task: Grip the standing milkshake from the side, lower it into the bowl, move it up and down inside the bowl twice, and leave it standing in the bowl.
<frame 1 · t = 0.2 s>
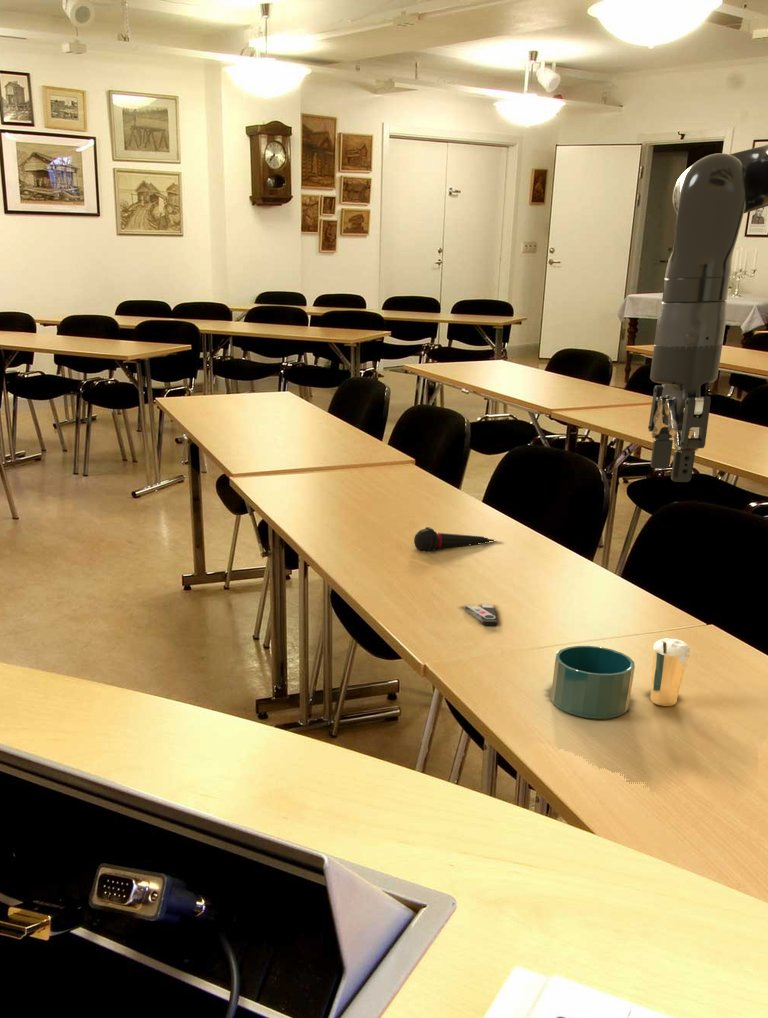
hand: (669, 474, 116), 32 cm above the table, tool pointing down, fingers open, 8 cm apart
microphone: (457, 551, 197), on the table
bowl: (588, 702, 128), on the table
milkshake: (661, 703, 127), on the table
usb flash drive: (479, 618, 159), on the table
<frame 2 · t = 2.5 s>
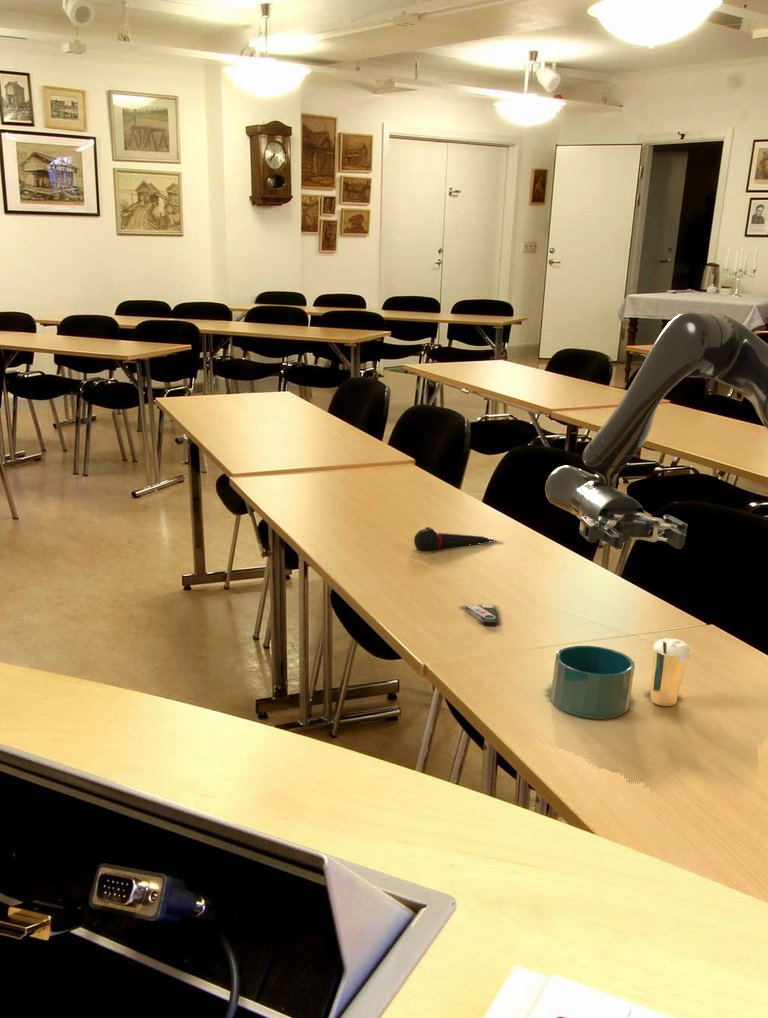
hand: (651, 542, 130), 20 cm above the table, tool horizontal, fingers open, 8 cm apart
nothing on the table moved.
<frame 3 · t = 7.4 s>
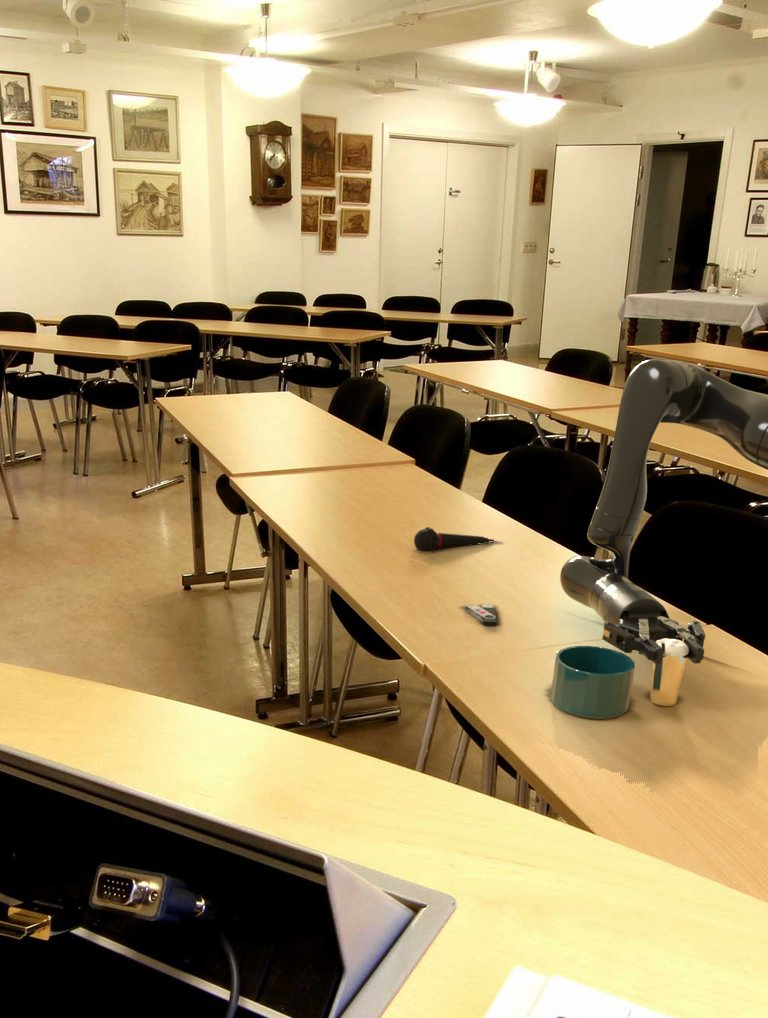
hand: (679, 657, 122), 8 cm above the table, tool horizontal, fingers closed on milkshake, 4 cm apart
milkshake: (661, 703, 127), on the table, touching gripper
everything else where it was.
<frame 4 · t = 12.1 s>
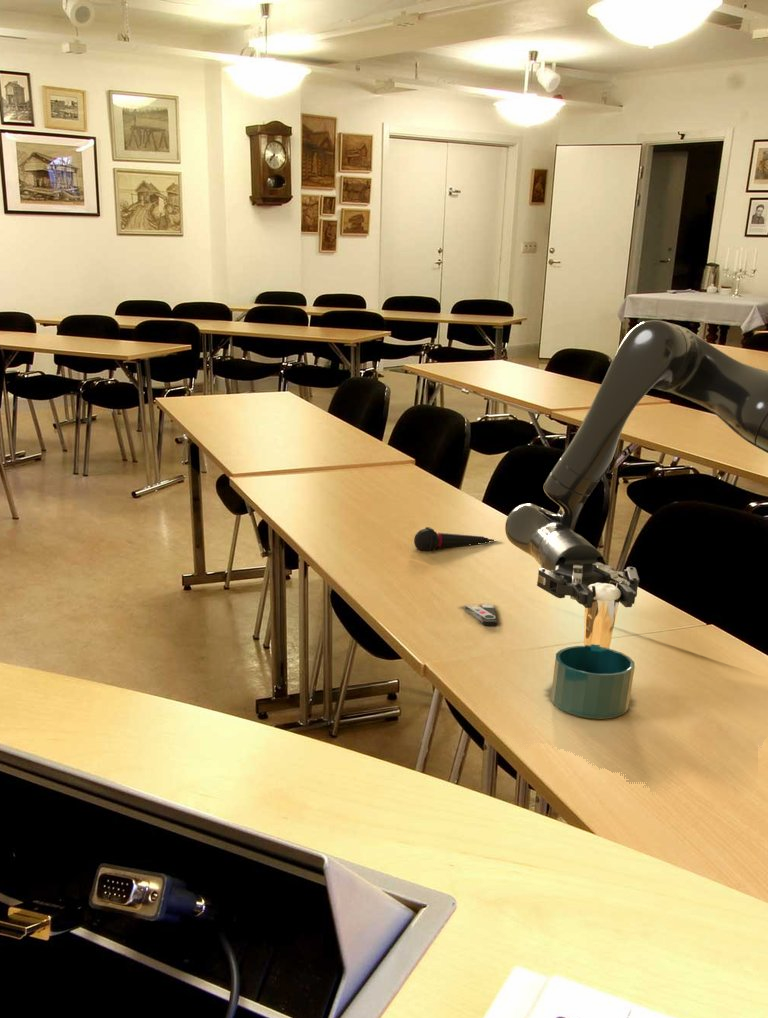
hand: (610, 600, 119), 16 cm above the table, tool horizontal, fingers closed on milkshake, 4 cm apart
milkshake: (594, 649, 125), point 8 cm above the table, touching gripper
everything else where it was.
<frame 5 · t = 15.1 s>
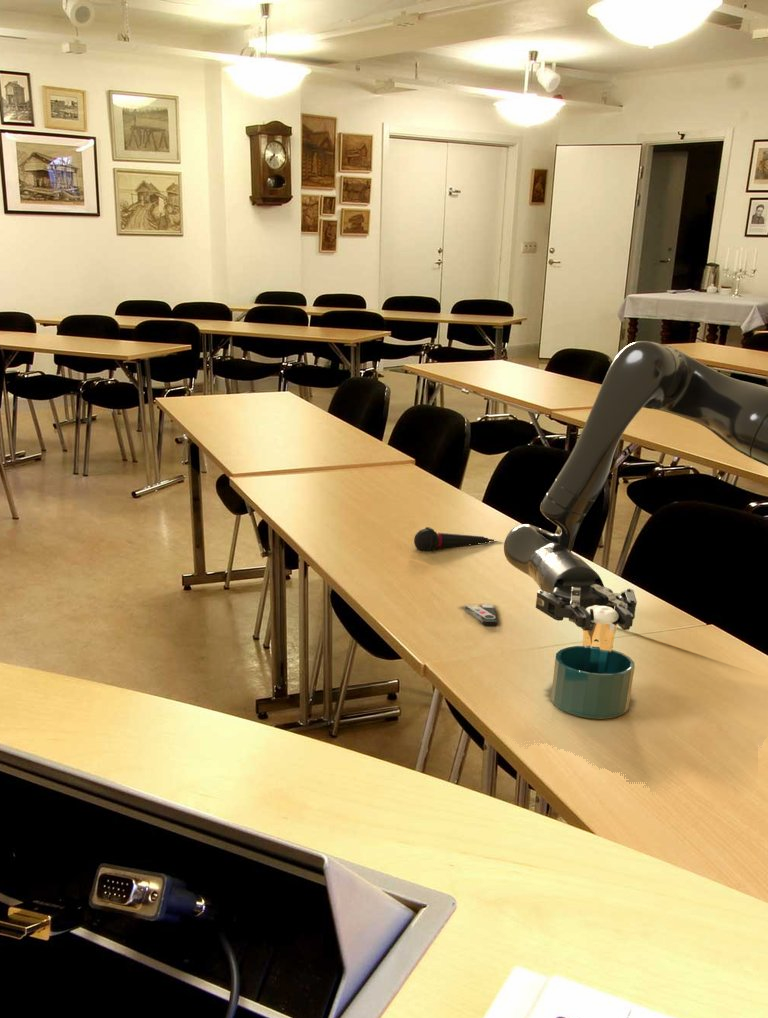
hand: (608, 623, 120), 13 cm above the table, tool horizontal, fingers closed on milkshake, 4 cm apart
milkshake: (593, 671, 126), point 5 cm above the table, touching gripper
everything else where it was.
when the fingers open (9 cm above the table, at t = 17.1 s): milkshake stays where it is, resting on bowl.
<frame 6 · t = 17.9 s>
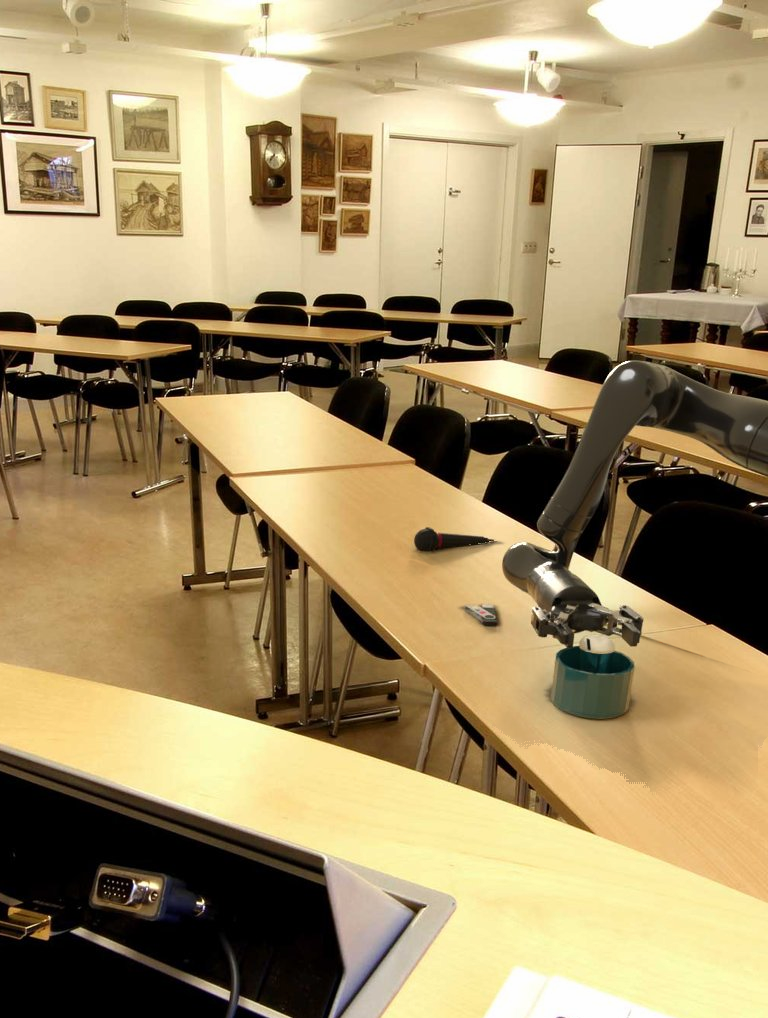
hand: (603, 640, 122), 10 cm above the table, tool horizontal, fingers open, 8 cm apart
milkshake: (588, 699, 128), resting on bowl
everything else where it was.
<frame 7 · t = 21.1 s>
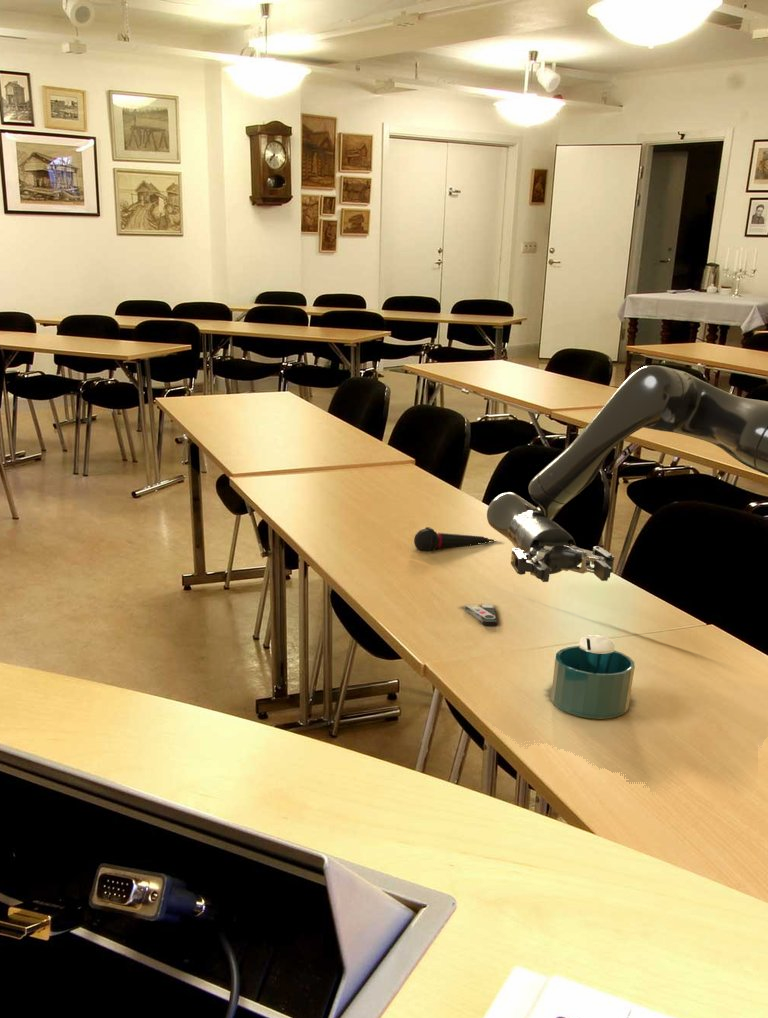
hand: (576, 575, 132), 15 cm above the table, tool horizontal, fingers open, 8 cm apart
nothing on the table moved.
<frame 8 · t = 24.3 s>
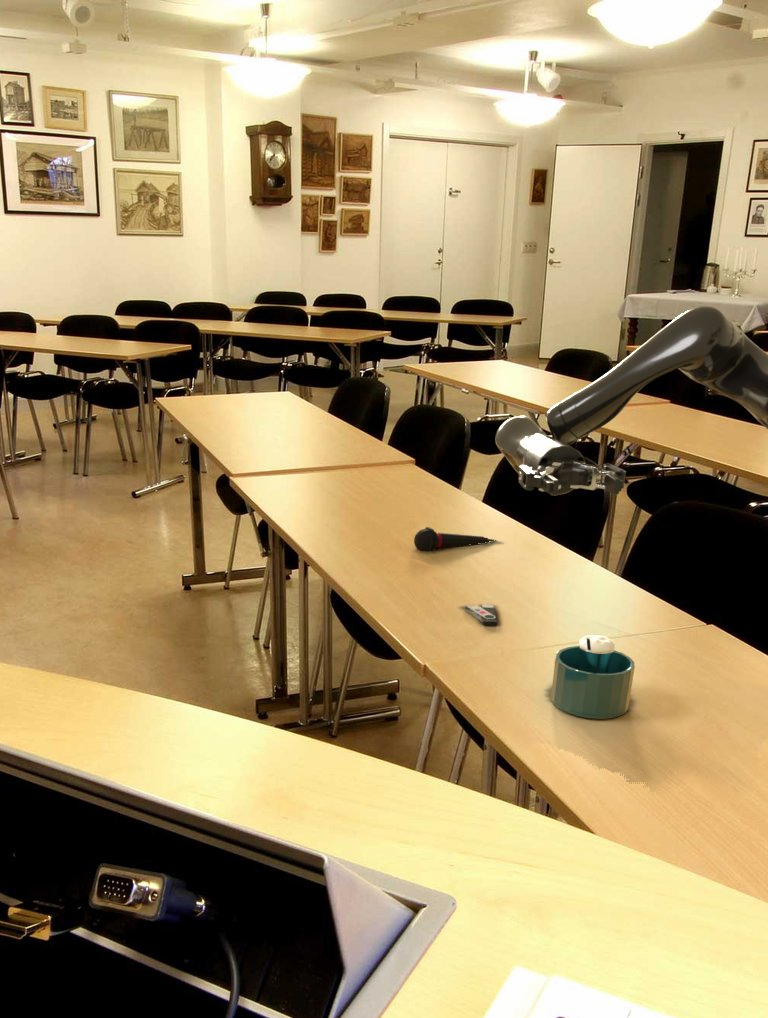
hand: (586, 488, 127), 28 cm above the table, tool horizontal, fingers open, 8 cm apart
nothing on the table moved.
at the end: milkshake 0.2 cm off-centre in the bowl, point 0.3 cm above the bowl's base; the gripper is holding nothing; milkshake moved 10.1 cm from its start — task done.
